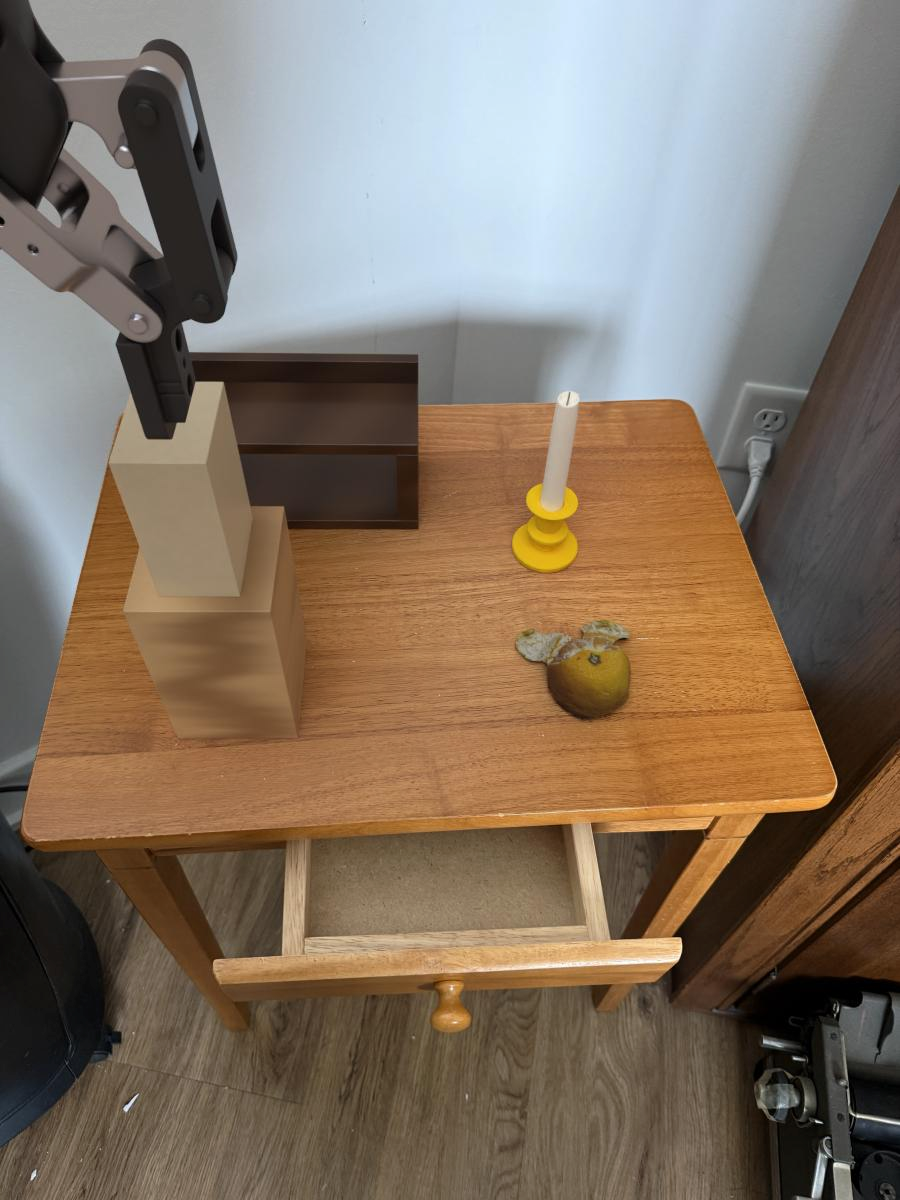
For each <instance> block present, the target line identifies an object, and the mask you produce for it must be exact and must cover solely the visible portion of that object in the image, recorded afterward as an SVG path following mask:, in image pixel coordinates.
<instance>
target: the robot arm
mask: <svg viewBox="0 0 900 1200" xmlns="http://www.w3.org/2000/svg"><path fill="white" fill-rule="evenodd" d="M194 74H195V73H194V70H193V65H192V63H191V60H190V58H189V56H188V55H187V53H186V52H185V51H184V50H183V49H182V48H181V47H180V45H178V44H176V43H175V42H174V41H171V40H168V39H165V38H156V39H153V40H150V41H148V42H147V43H146V44H145V45H144V46H142V49H141V51H140V53H139V55H138V56H137V57H134V58H124V59H123V58H122V59H121V58H120V59H100V60H97V59H96V60H81V61H80V60H79V61H77V60H75V61H66V59H65V58H64V57H63V55H62V54H61V53H60V52H59V51H58V49H57V48H56V47H55V46H54V44H53V43H52V42H51V41H50V39H49V37H48V36H47V34H46V33H45V31H44V30H43V29H42V27H41V26H40V24H39V22H38V20H37V18H36V16H35V14H34V12H33V8H32V6H31V3H30V0H0V251H1V250H2V251H3V252H4V253H5V254H6V255H8V256H9V257H10V258H12V259H13V260H14V261H15V262H16V263H17V264H19V265H20V266H21V267H22V268H23V269H25V270H26V271H28V272H29V273H30V274H31V275H32V276H33V277H35V278H36V279H37V280H38V281H40V282H41V283H42V284H43V285H45V286H46V287H47V288H49V289H50V290H52V291H54V292H57V293H65V292H66V293H67V292H69V293H72V294H74V295H75V296H76V297H78V298H79V299H80V300H81V301H83V302H84V303H85V304H86V305H87V306H89V307H90V308H91V309H92V310H93V311H94V312H96V313H97V314H98V315H99V316H100V317H101V318H103V319H104V320H105V321H106V322H108V323H109V324H110V325H111V326H112V327H114V328H115V329H116V330H117V331H118V332H119V333H118V335H117V338H116V342H115V343H114V344H115V347H116V351H117V354H118V358H119V360H120V363H121V366H122V370H123V373H124V376H125V378H126V382H127V385H128V388H129V391H130V393H131V394H132V398H133V401H134V404H135V407H136V410H137V413H138V416H139V419H140V422H141V425H142V429H143V432H144V435H145V437H146V438H147V439H148V440H171V439H172V438H173V436H174V432H175V428H176V424H177V423H185V422H186V418H187V414H188V410H189V406H190V402H191V398H192V394H193V390H194V386H195V382H196V378H195V374H194V370H193V366H192V362H191V358H190V355H189V352H190V350H189V346H188V342H187V338H186V334H185V329H184V325H183V323H184V322H187V321H193V322H196V323H198V324H203V325H208V324H209V325H210V324H213V323H214V324H215V323H216V322H218V321H220V320H221V319H222V318H223V317H224V315H225V313H226V309H227V304H228V300H229V295H228V293H229V289H230V285H231V281H232V277H233V275H234V274H235V271H236V266H237V263H238V251H237V247H236V242H235V239H234V234H233V230H232V226H231V222H230V218H229V214H228V210H227V205H226V201H225V197H224V193H223V189H222V184H221V181H220V176H219V172H218V169H217V165H216V160H215V156H214V152H213V149H212V144H211V140H210V135H209V133H208V129H207V128H208V127H207V123H206V118H205V115H204V111H203V108H202V103H201V98H200V95H199V91H198V86H197V83H196V79H195V75H194ZM74 123H78V124H81V125H84V126H86V127H88V128H90V129H91V130H92V131H94V132H95V133H96V134H97V135H98V136H99V137H100V138H101V140H102V141H103V143H104V145H105V147H106V149H107V151H108V153H109V154H110V155H111V157H112V158H113V160H114V162H115V164H117V165H118V167H120V168H122V169H123V170H124V169H125V170H136V173H137V176H138V179H139V182H140V185H141V190H142V191H143V195H144V198H145V201H146V204H147V208H148V211H149V214H150V217H151V220H152V223H153V226H154V230H155V233H156V237H157V240H158V243H159V246H160V249H161V251H159V250H158V249H157V248H156V246H154V245H153V244H152V243H151V242H150V241H149V240H148V239H147V238H146V237H145V236H143V235H142V234H141V233H140V232H139V231H138V230H137V229H136V228H135V227H134V226H133V225H132V224H130V222H129V221H127V220H126V219H125V217H124V216H123V215H122V213H121V211H120V207H119V204H118V201H117V200H116V198H115V196H114V195H113V194H112V193H111V191H110V190H109V189H107V187H106V186H104V185H103V184H102V182H100V180H98V179H97V178H96V177H95V176H94V175H93V174H92V173H91V172H90V171H89V170H88V169H87V168H85V166H83V164H81V163H80V162H79V161H78V160H77V159H76V158H75V157H74V156H73V155H72V154H71V153H70V152H69V151H68V150H67V149H66V148H65V147H64V146H65V145H66V141H67V139H68V137H69V134H70V132H71V130H72V127H73V125H74ZM43 198H45V199H46V200H47V201H48V202H49V204H51V205H52V206H53V207H54V209H55V210H56V211H57V213H58V215H59V217H60V221H61V223H60V227H58V226H56V225H55V224H54V223H53V222H52V221H50V219H48V218H47V217H46V216H45V215H43V213H42V212H40V211H39V210H38V209H39V207H40V205H41V202H42V199H43ZM161 252H162V253H161Z"/></svg>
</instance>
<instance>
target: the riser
mask: <svg viewBox="0 0 900 1200" xmlns="http://www.w3.org/2000/svg"><path fill="white" fill-rule="evenodd" d="M250 507H251V512H252V516H253V520H252V526H251V533H250V539H249V545H248V551H247V558H246V564H245V570H244V576H243V582H242V589H241V595H240V597H158V594H157V592H156V589H155V586H154V584H153V581H152V578H151V576H150V573H149V570H148V568H147V565H146V562H145V560H144V557H143V554H142V552H141V549H140V546H139V548H138V552H137V555H136V558H135V563H134V567H133V570H132V575H131V578H130V582H129V585H128V590H127V594H126V597H125V601H124V605H123V610H122V614H123V615H124V619H125V621H126V622H127V625H128V627H129V629H130V632H131V634H132V636H133V638H134V641H135V643H136V645H137V648H138V650H139V652H140V655H141V657H142V659H143V662H144V664H145V667H146V668H147V671H148V673H149V675H150V678H151V680H152V683H153V684H154V687H155V689H156V692H157V694H158V696H159V698H160V701H161V703H162V705H163V707H164V710H165V712H166V715H167V717H168V719H169V721H170V722H169V723H170V724H171V726H172V728H173V731H174V734H175V735H176V738H177V739H178V740H179V739H182V740H183V739H186V740H187V739H298V738H299V733H300V721H301V714H302V713H301V711H302V701H303V692H304V682H305V681H304V680H305V670H306V660H307V650H308V637H307V631H306V625H305V619H304V613H303V607H302V601H301V596H300V589H299V585H298V578H297V572H296V565H295V561H294V556H293V549H292V544H291V539H290V533H289V529H288V526H287V520H286V514H285V508H284V507H283V506H250Z"/></svg>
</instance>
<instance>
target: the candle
mask: <svg viewBox="0 0 900 1200" xmlns="http://www.w3.org/2000/svg"><path fill="white" fill-rule="evenodd" d="M580 397H581V396H580V395H579V394H578V392H576V391H573V390H566V391H563V392H561V393H560V394H559V395H558V396H557V399H556V404H555V409H554V412H553V418H552V424H551V430H550V436H549V444H548V449H547V456H546V461H545V468H544V475H543V480H542V483H539V484H536V485H534V486H533V487H531V488H530V489H529V491H528V492H527V493H526V497H525V502H526V506H527V508H528V510H530V512H531V513H532V514H534V515H533V516H531V517H530V518H529V520H528V522H527V523H525V524H523V525H521V526H520V527H519V528H518V529H517V530H516V531H515V532H514V533H513V536H512V539H511V551H512V554H513V556H514V558H515V559H516V560H517V562H518V563H520V564H521V565H522V566H523V567H525V568H526V569H529V570H531V571H533V572H537V573H542V574H543V573H544V574H546V573H547V574H552V573H559V572H560V571H563V570H565V569H567V568H568V567H570V566H571V565H572V564H573V563H574V561H575V560H576V558H577V554H578V552H579V545H578V544H579V543H578V540H577V538H576V536H575V535H574V534H573V532H572V531H571V530H570V529H569V525H568V523H567V522H566V520H567V519H568V518H570V517H571V516H573V515H574V514H575V513H576V511H577V509H578V507H579V500H578V497H577V495H576V493H575V492H574V491H573V490H572V489H571V488H569V487H568V486H567V482H568V476H569V470H570V465H571V459H572V452H573V446H574V441H575V434H576V429H577V424H578V423H577V422H578V416H579V407H580V406H579V405H580V400H581V398H580ZM565 519H566V520H565Z"/></svg>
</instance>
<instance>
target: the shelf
mask: <svg viewBox="0 0 900 1200" xmlns="http://www.w3.org/2000/svg"><path fill="white" fill-rule="evenodd" d="M189 355H190V358H191V362H192V366H193V370H194V374H195V378H196V382H224V386H225V391H226V395H227V400H228V405H229V409H230V414H231V419H232V423H233V428H234V433H235V437H236V442H237V447H238V451H239V456H240V461H241V465H242V470H243V474H244V479H245V484H246V488H247V493H248V498H249V502H250V506H283V507H284V508H285V514H286V520H287V526H288V530H419V491H420V490H419V488H420V487H419V484H420V483H419V481H420V480H419V477H420V475H419V474H420V473H419V471H420V470H419V469H420V468H419V466H420V464H419V456H420V455H419V454H420V453H419V452H420V451H419V450H420V449H419V446H420V445H419V444H420V443H419V439H420V438H419V436H420V435H419V428H420V427H419V426H420V425H419V424H420V423H419V354H417V353H406V354H405V353H327V352H325V353H323V352H322V353H319V352H318V353H317V352H315V353H314V352H313V353H311V352H310V353H309V352H307V353H306V352H227V351H226V352H224V351H223V352H220V351H219V352H218V351H215V352H214V351H213V352H208V351H207V352H206V351H198V352H197V351H189Z"/></svg>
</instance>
